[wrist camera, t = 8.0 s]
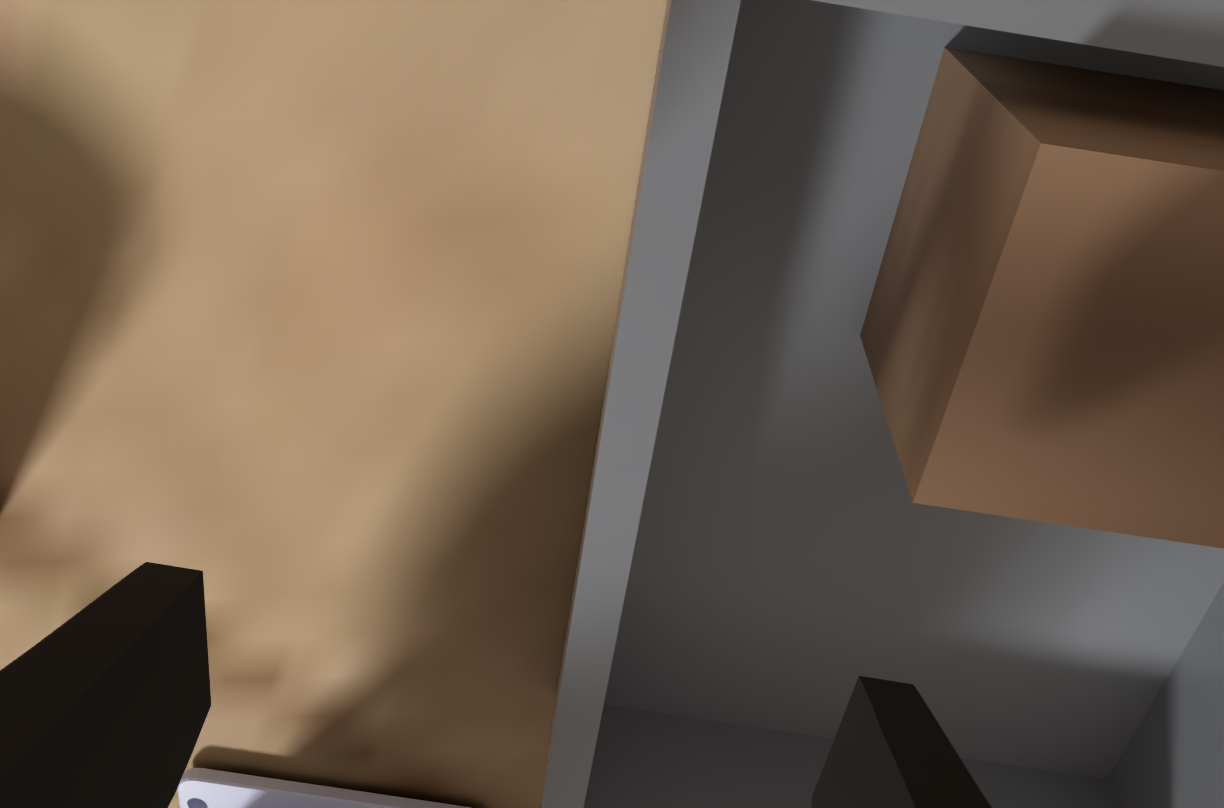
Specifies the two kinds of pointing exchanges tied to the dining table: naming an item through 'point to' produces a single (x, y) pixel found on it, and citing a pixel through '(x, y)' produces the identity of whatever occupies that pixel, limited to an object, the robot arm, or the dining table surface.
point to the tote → (847, 455)
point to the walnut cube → (1059, 300)
